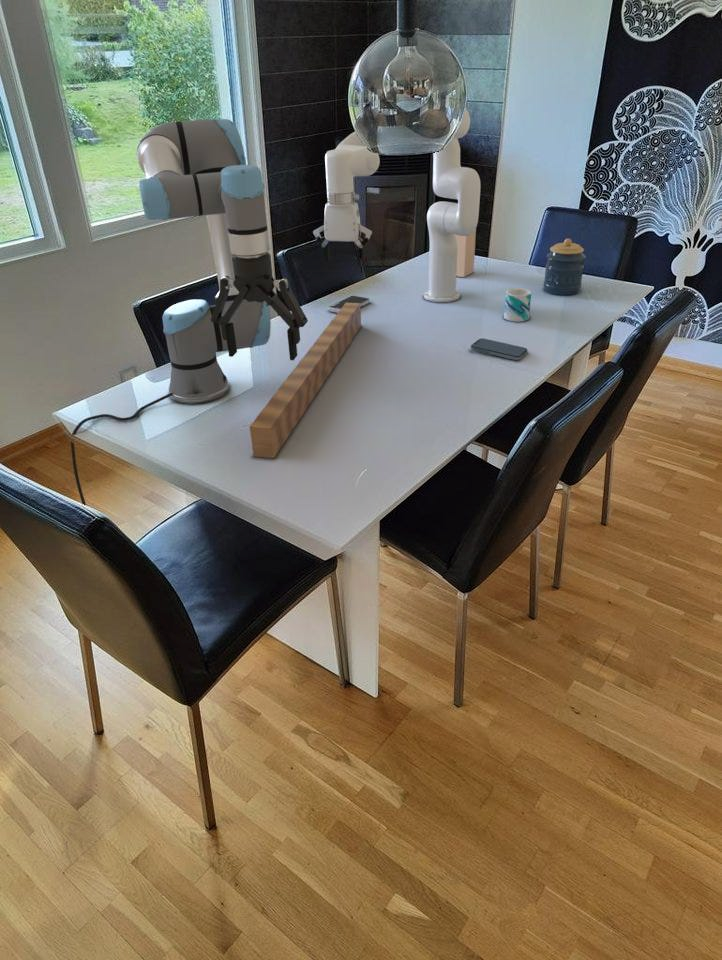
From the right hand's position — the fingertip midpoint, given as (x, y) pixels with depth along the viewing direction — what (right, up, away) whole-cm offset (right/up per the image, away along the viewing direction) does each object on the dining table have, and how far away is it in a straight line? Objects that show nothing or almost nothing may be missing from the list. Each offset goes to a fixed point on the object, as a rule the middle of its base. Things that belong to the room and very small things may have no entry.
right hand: (343, 260), depth 197 cm
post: (-7, -37, -15) cm, 41 cm away
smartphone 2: (+45, -28, -4) cm, 53 cm away
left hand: (-16, -38, -55) cm, 69 cm away
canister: (+77, +3, +42) cm, 87 cm away
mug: (+57, -11, +21) cm, 61 cm away
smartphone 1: (+1, -5, +34) cm, 35 cm away
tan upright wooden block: (+44, +17, +65) cm, 80 cm away
